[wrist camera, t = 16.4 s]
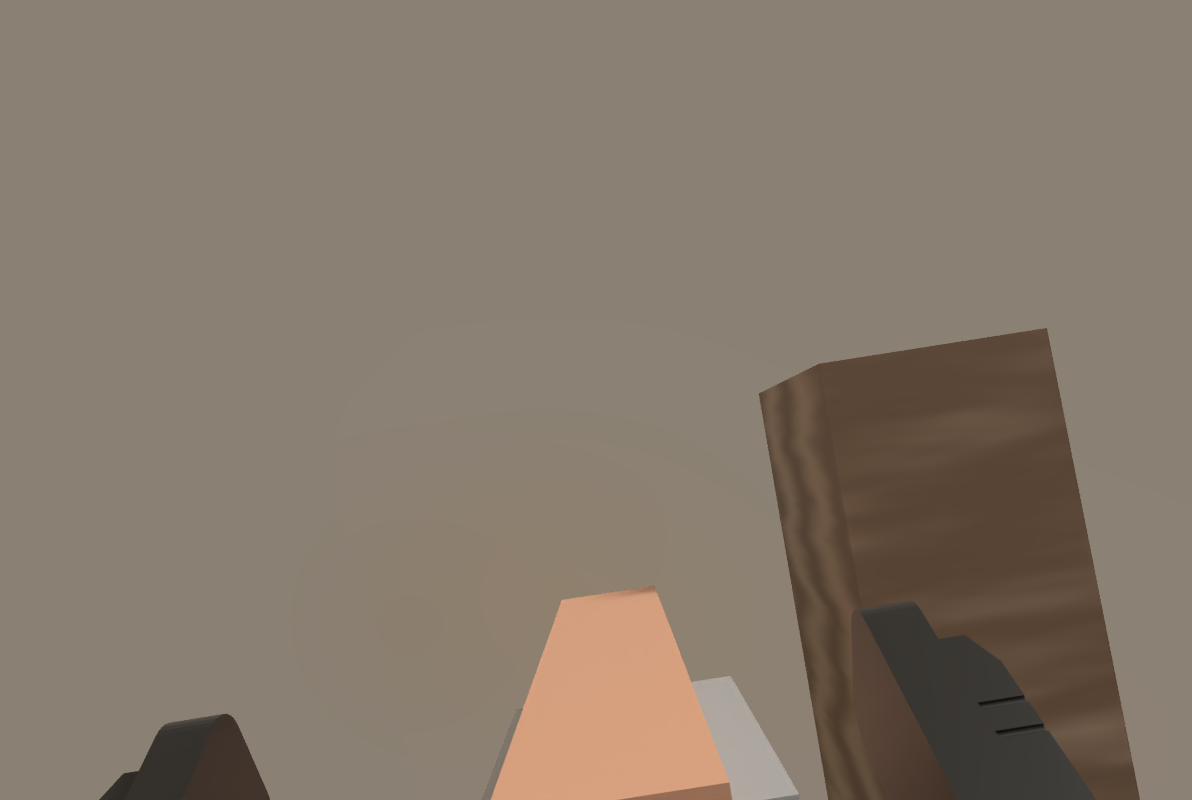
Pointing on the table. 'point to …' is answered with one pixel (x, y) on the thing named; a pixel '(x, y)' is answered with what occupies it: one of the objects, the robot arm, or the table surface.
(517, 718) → the gray rectangular block
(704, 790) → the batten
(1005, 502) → the pedestal
